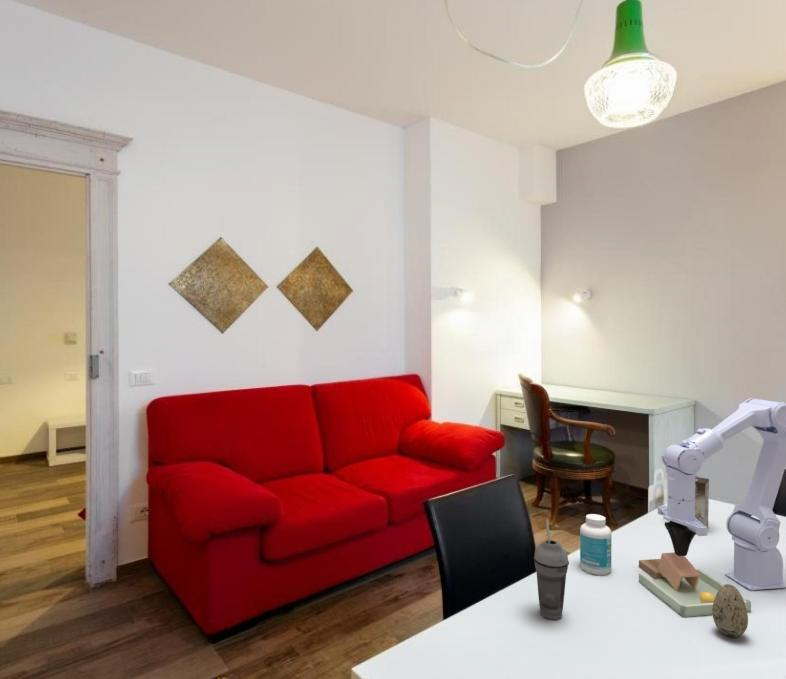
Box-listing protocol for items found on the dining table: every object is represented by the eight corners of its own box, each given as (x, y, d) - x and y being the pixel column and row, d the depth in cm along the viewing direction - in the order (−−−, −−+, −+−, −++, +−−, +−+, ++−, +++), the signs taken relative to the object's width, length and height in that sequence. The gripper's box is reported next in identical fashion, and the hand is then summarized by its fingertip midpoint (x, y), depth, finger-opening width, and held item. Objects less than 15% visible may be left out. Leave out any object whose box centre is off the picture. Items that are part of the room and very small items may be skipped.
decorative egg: (740, 647, 99) (740, 595, 99) (707, 633, 103) (707, 583, 103) (752, 636, 102) (753, 586, 102) (719, 623, 107) (720, 575, 107)
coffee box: (670, 529, 158) (670, 477, 158) (675, 523, 163) (675, 472, 162) (704, 537, 152) (705, 482, 152) (709, 530, 157) (709, 478, 156)
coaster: (664, 566, 133) (664, 558, 133) (682, 579, 126) (682, 571, 126) (638, 567, 132) (638, 560, 132) (656, 581, 125) (656, 572, 125)
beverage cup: (550, 626, 106) (551, 529, 106) (526, 609, 112) (526, 518, 112) (576, 617, 109) (576, 523, 109) (551, 601, 116) (551, 512, 115)
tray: (699, 578, 127) (699, 569, 127) (751, 611, 111) (751, 601, 111) (638, 582, 125) (638, 573, 124) (682, 617, 109) (682, 607, 109)
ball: (720, 601, 111) (715, 609, 113) (712, 588, 114) (706, 596, 115) (708, 601, 111) (702, 610, 112) (699, 588, 113) (694, 597, 115)
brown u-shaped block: (681, 552, 125) (700, 574, 119) (676, 568, 127) (695, 591, 120) (662, 553, 124) (680, 575, 118) (657, 569, 126) (675, 592, 120)
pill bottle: (614, 578, 127) (614, 523, 126) (582, 575, 128) (582, 521, 128) (607, 564, 134) (608, 512, 134) (578, 562, 135) (578, 511, 135)
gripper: (646, 488, 128) (646, 543, 128) (686, 508, 114) (686, 569, 114) (672, 487, 129) (672, 541, 129) (716, 507, 114) (715, 567, 115)
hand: (680, 554), depth 121 cm, fingers closed
